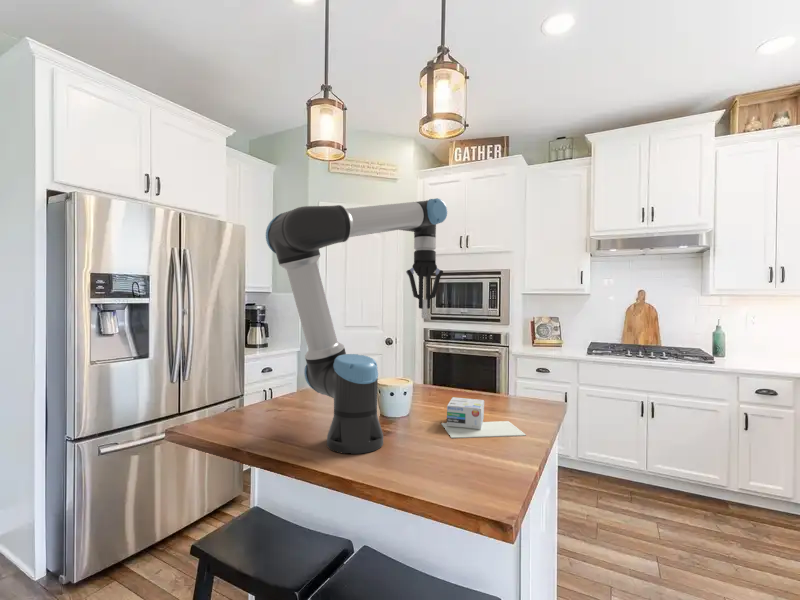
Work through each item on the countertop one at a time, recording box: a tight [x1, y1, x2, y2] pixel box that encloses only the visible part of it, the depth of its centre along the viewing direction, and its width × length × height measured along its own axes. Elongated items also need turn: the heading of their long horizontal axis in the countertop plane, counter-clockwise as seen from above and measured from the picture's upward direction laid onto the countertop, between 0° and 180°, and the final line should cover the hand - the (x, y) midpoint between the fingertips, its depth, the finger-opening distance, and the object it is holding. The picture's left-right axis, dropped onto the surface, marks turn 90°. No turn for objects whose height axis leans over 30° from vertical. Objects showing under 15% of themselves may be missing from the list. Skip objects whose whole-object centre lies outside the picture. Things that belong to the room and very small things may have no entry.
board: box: [441, 420, 527, 439], centre depth 125 cm, size 22×13×1 cm, turn 97°
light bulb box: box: [446, 396, 485, 430], centre depth 130 cm, size 11×7×11 cm
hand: (424, 318), depth 144 cm, fingers closed
